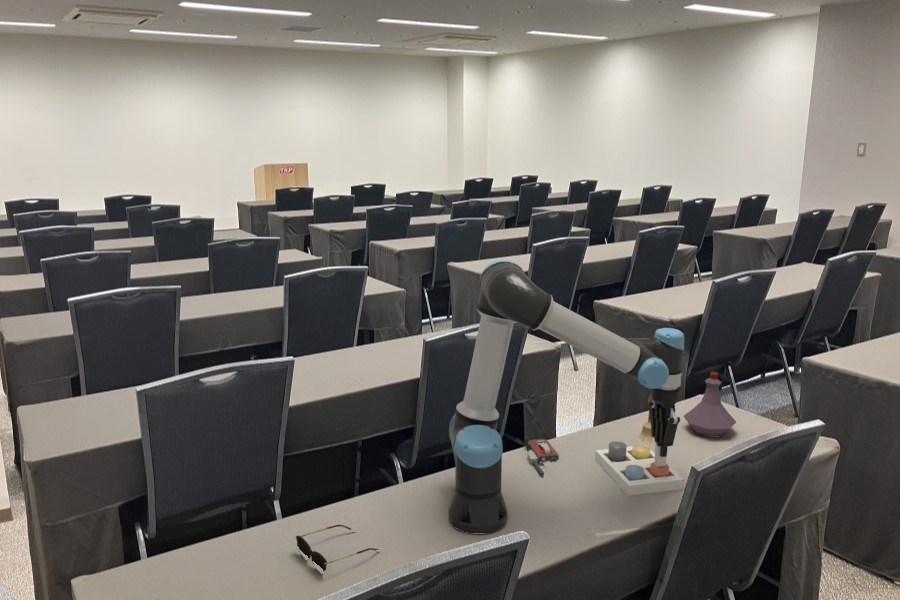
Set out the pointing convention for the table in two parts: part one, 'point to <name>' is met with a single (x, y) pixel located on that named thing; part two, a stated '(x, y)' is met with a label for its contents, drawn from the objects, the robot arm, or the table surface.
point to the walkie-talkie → (540, 453)
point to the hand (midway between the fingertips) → (660, 465)
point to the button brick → (659, 471)
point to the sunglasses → (317, 556)
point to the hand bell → (647, 428)
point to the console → (638, 486)
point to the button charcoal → (617, 451)
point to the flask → (710, 411)
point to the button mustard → (640, 452)
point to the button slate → (634, 472)
